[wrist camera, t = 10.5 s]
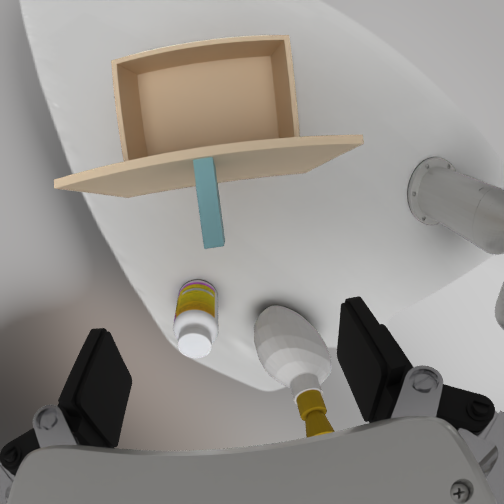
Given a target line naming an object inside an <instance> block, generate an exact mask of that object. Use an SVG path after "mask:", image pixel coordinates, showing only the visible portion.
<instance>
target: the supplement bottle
mask: <svg viewBox="0 0 504 504" xmlns="http://www.w3.org/2000/svg"><path fill="white" fill-rule="evenodd" d="M173 331H174V335H175V337H176V338H177V340H178V349H179V350H180V352H181V353H182V354H184V355H185V356H187V357H190V358H201V357H204V356H206V355H207V354H209V352H210V351H211V348H212V343H213V342H214V341H215V339H216V338H217V335H218V296H217V292H216V290H215V289H214V287H213V286H212V285H210V284H209V283H207V282H205V281H201V280H194V281H190V282H188V283H186V284H185V285H184V286H183V287H182V288H181V289H180V292H179V295H178V301H177V307H176V313H175V319H174V324H173Z"/></svg>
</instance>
